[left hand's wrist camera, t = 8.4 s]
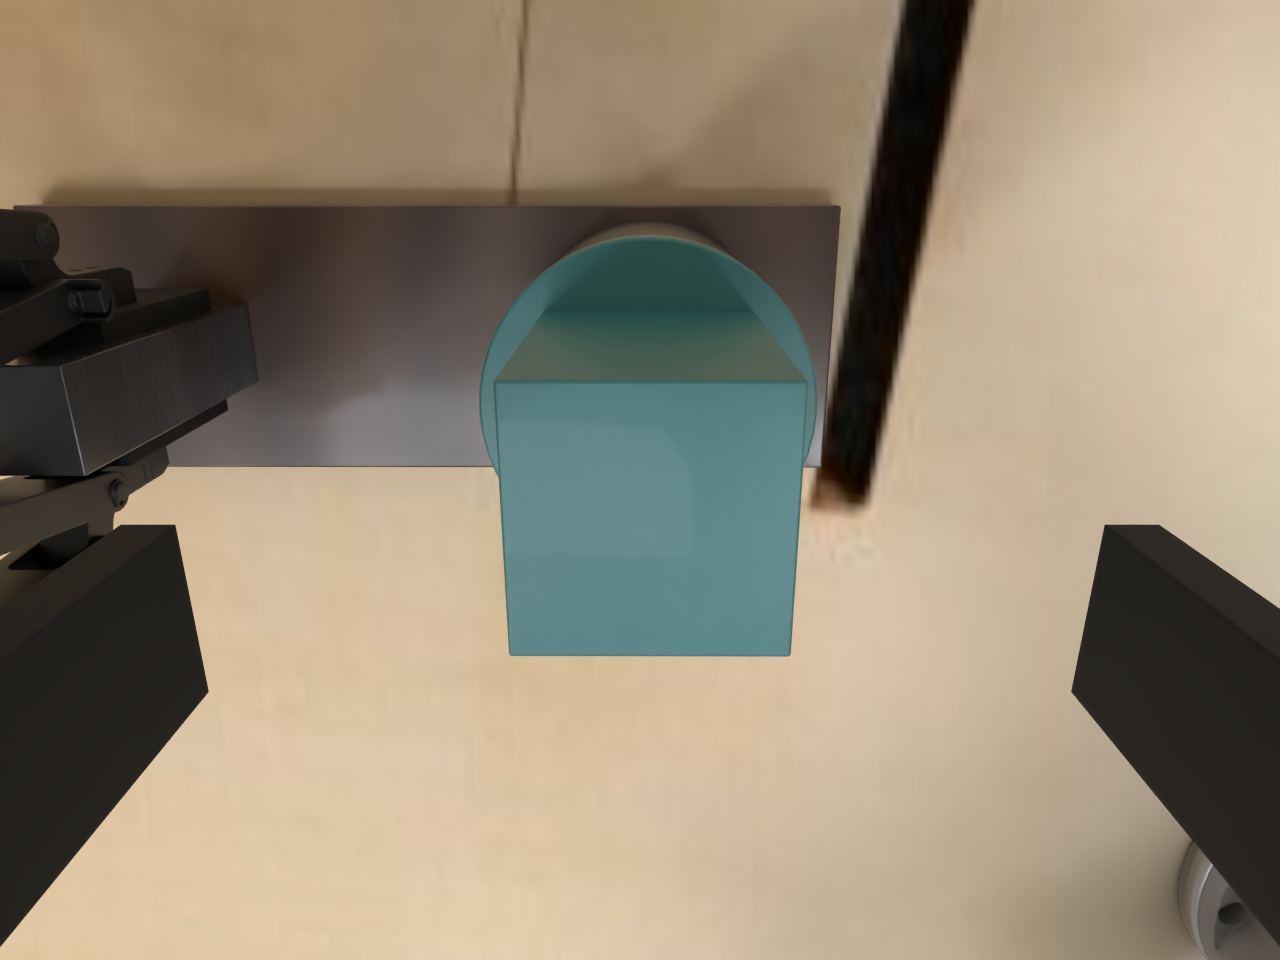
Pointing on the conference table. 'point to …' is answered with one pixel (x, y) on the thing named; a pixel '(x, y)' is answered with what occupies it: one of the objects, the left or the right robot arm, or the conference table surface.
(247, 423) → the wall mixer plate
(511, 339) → the cap block
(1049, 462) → the conference table surface
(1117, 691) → the left robot arm
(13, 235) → the right robot arm
